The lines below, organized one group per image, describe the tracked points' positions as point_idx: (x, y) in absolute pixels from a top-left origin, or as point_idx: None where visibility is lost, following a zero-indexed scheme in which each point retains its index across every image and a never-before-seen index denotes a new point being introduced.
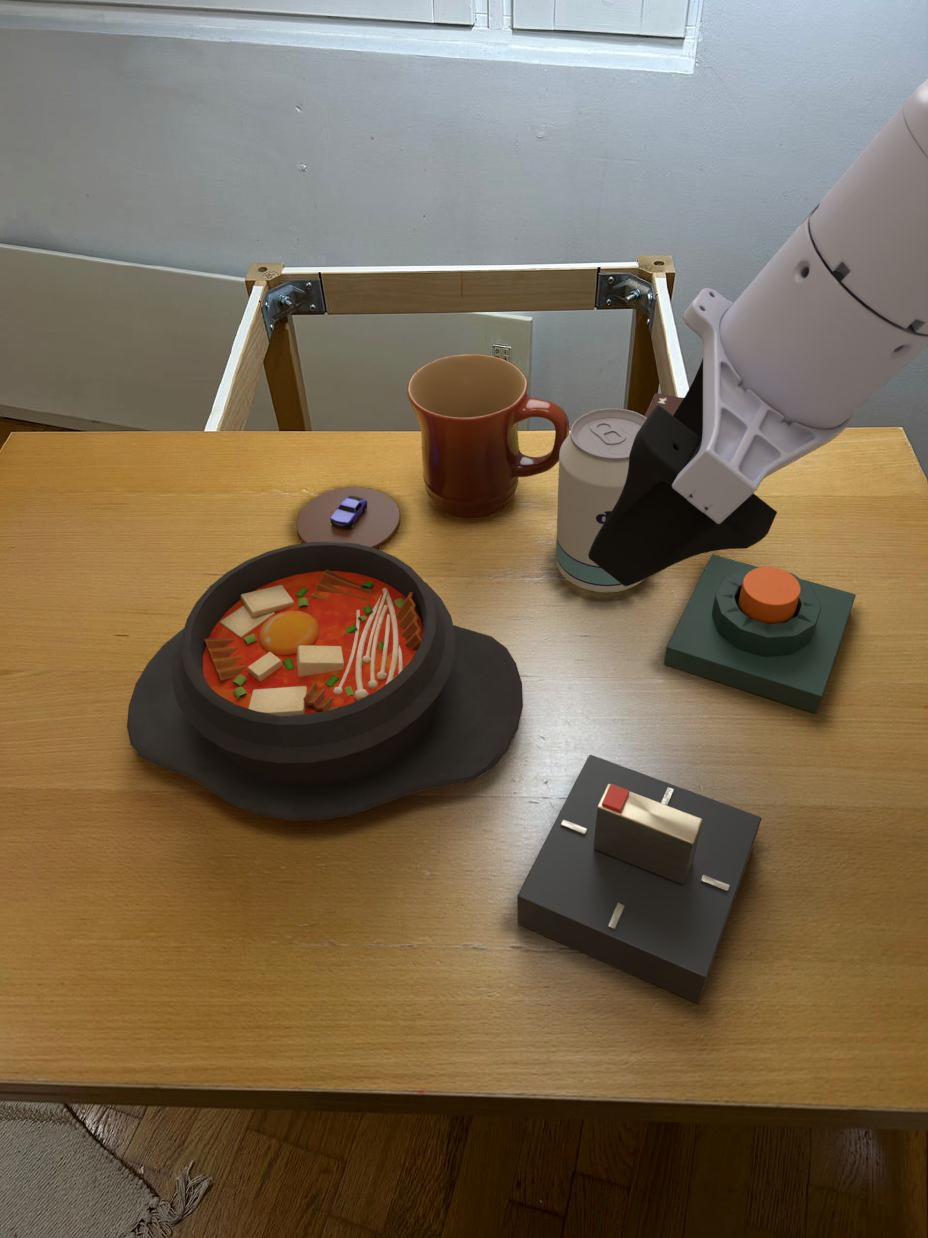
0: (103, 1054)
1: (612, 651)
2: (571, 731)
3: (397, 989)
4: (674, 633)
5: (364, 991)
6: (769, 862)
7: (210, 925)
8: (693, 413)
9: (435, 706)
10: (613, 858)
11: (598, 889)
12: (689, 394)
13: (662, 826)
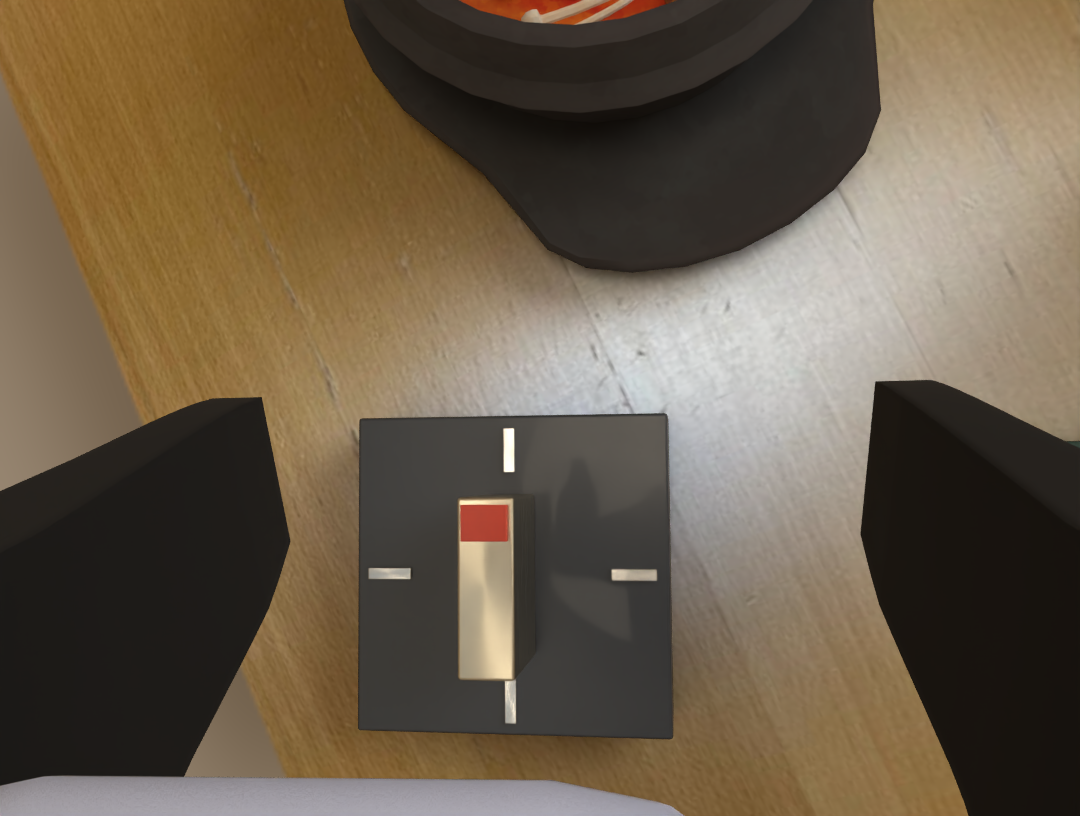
0: (11, 31)
1: (995, 337)
2: (764, 347)
3: (231, 316)
4: (1075, 444)
5: (211, 278)
6: (657, 747)
7: (202, 31)
8: (983, 543)
9: (636, 110)
10: None
11: (421, 530)
12: (1029, 509)
13: (466, 619)
